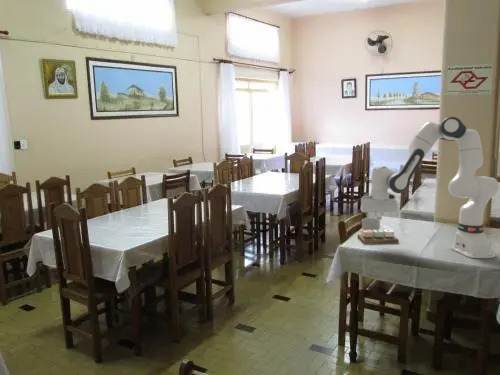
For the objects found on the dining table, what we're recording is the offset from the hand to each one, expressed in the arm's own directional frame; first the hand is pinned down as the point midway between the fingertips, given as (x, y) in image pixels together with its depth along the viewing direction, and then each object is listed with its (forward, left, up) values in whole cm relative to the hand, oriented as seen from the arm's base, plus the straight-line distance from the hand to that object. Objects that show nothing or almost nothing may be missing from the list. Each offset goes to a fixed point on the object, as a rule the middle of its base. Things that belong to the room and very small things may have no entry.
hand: (378, 219), depth 249 cm
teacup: (+20, -1, -13) cm, 24 cm away
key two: (+2, 0, -12) cm, 12 cm away
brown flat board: (+2, 0, -13) cm, 13 cm away
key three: (+2, +6, -12) cm, 13 cm away
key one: (+2, -6, -12) cm, 14 cm away
